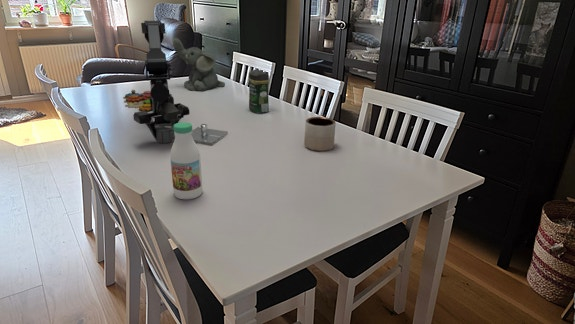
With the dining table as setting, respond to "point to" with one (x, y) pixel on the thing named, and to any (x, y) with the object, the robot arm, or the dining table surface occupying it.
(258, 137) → the dining table surface
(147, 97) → the gear puzzle
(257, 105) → the coffee jar
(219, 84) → the stuffed elephant
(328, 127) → the planter
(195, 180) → the milk bottle
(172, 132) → the knob
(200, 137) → the mounting plate
